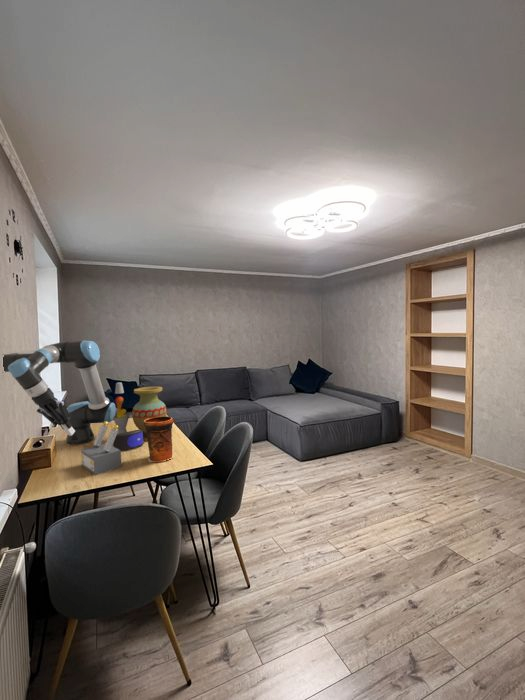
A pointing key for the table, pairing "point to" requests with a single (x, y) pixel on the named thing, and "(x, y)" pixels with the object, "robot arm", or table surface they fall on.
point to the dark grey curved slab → (129, 440)
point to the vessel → (159, 438)
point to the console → (100, 459)
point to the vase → (147, 407)
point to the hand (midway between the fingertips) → (72, 433)
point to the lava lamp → (120, 411)
